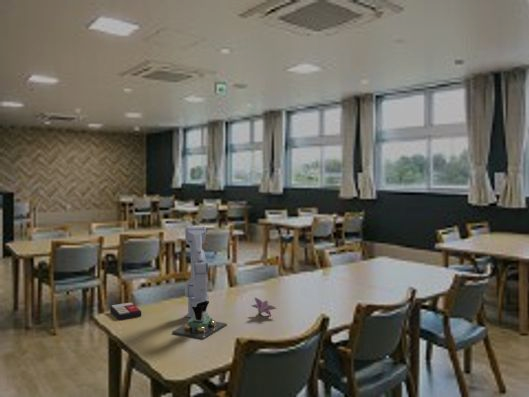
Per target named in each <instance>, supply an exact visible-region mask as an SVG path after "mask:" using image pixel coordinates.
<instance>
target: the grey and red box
mask: <svg viewBox="0 0 529 397" xmlns="http://www.w3.org/2000/svg"><path fill="white" fill-rule="evenodd" d="M109 311H110V314H111V315H113V316H114V317H115V318H116V319H117V320H118V321H123V320H130V319H135V318H140V317H142V311H141V310H140V309H139V307H137V306H136V305H135V304H134V303H133V302H124V303H119V304H113V305H110V310H109Z"/></svg>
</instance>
